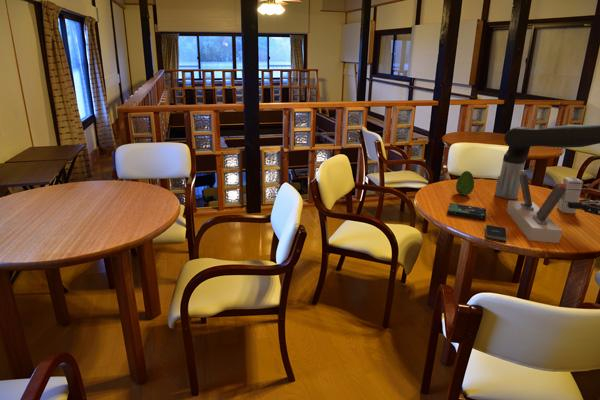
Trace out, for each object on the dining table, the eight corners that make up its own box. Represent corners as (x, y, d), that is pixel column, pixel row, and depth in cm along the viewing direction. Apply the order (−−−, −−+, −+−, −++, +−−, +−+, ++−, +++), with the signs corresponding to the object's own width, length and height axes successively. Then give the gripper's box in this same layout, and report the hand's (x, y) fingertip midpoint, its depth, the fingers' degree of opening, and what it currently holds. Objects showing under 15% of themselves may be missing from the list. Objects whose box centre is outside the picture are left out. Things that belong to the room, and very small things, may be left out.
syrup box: (575, 213, 177) (584, 181, 172) (560, 212, 178) (569, 180, 173) (570, 209, 182) (578, 177, 177) (555, 207, 183) (563, 176, 178)
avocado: (464, 198, 192) (468, 173, 188) (451, 193, 198) (455, 169, 194) (475, 196, 196) (480, 172, 192) (462, 191, 202) (466, 167, 198)
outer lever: (540, 217, 156) (565, 182, 150) (545, 222, 151) (570, 186, 146) (534, 214, 156) (557, 179, 150) (538, 219, 151) (563, 183, 146)
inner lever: (529, 201, 169) (523, 167, 165) (534, 206, 165) (527, 170, 161) (522, 203, 170) (516, 169, 166) (526, 207, 165) (520, 172, 162)
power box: (531, 213, 176) (534, 200, 174) (558, 243, 148) (563, 227, 146) (506, 211, 177) (509, 198, 175) (529, 240, 150) (532, 225, 148)
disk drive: (484, 214, 175) (448, 208, 180) (486, 208, 174) (449, 202, 179) (485, 222, 166) (447, 216, 171) (486, 216, 165) (448, 209, 170)
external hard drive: (504, 232, 157) (505, 227, 156) (506, 243, 147) (507, 238, 147) (485, 229, 159) (485, 224, 159) (485, 240, 150) (486, 235, 149)
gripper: (614, 193, 152) (563, 189, 155) (634, 205, 140) (579, 201, 143) (608, 212, 155) (558, 208, 158) (628, 225, 142) (573, 220, 145)
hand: (568, 204), depth 150 cm, fingers closed
